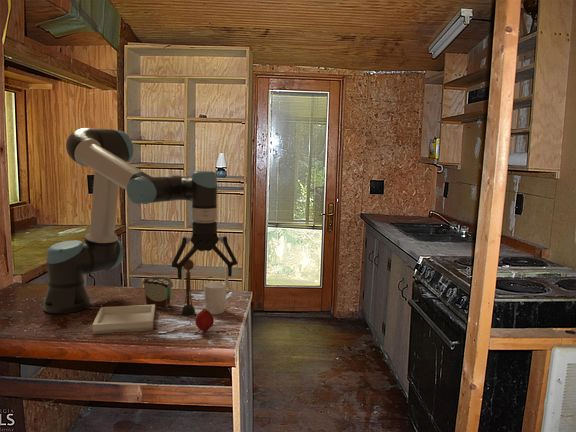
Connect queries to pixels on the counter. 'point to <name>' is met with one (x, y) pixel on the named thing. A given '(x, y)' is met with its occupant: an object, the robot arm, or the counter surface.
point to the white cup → (215, 297)
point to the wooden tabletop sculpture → (188, 309)
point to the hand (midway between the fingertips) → (205, 287)
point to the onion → (204, 320)
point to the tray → (124, 319)
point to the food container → (158, 291)
